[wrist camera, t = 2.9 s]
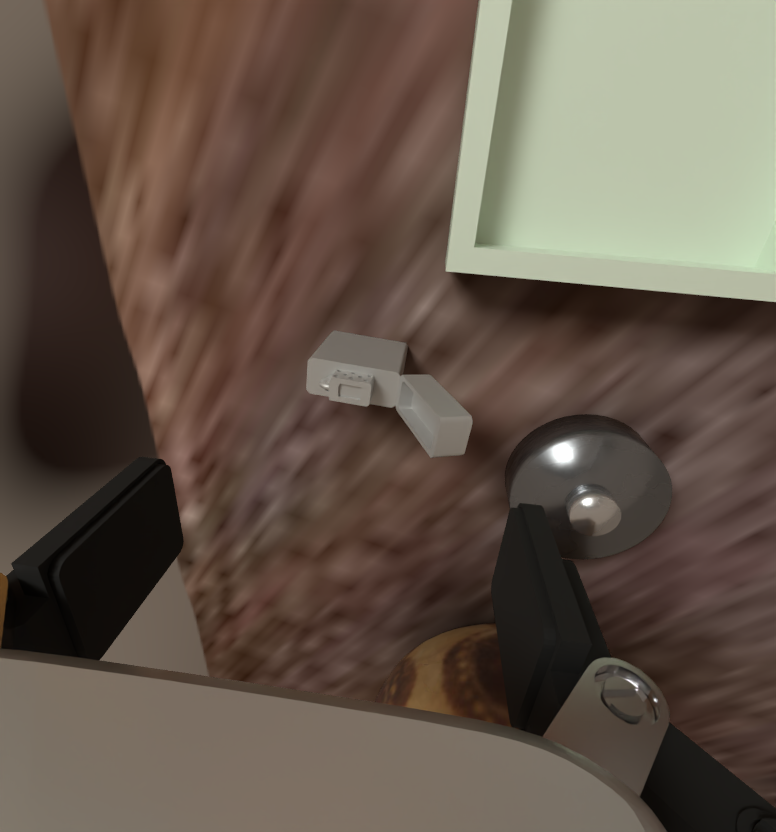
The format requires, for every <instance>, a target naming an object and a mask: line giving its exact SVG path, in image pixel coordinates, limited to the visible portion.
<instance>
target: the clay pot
mask: <svg viewBox="0 0 776 832" xmlns="http://www.w3.org/2000/svg"><path fill="white" fill-rule="evenodd" d="M375 702H377V703H383V704H389V705H396V706H402V707H408V708H414V709H420V710H426V711H431V712H437V713H443V714H448V715H454V716H460V717H465V718H471V719H477V720H481V721H486V722H490V723H495V724H499V725H503V726H508V727H512V726H511V724H510V720H509V713H508V706H507V699H506V692H505V685H504V678H503V671H502V664H501V657H500V650H499V643H498V636H497V629H496V623H489V624H480V625H473V626H467V627H462V628H457V629H454V630H450V631H447V632H444V633H441V634H439V635H437V636H435V637H433V638H431V639H429V640H427V641H425V642H423V643H422V644H420V645H419V646H417V647H416V648H414V649H413V650H412V651H410V652H409V653H408V654H407V655H406V656H405V657H404V658H403V659H402V660H401V661H400V662H399V663H398V664H397V665H396V667H395V668H394V669H393V671H392V672H391V674H390V675H389V677H388V678H387V680H386V681H385V683H384V685H383V686H382V688H381V690H380V692H379V694H378V696H377V698H376V701H375ZM516 729H518V728H516Z"/></svg>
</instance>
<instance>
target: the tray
mask: <svg viewBox="0 0 776 832" xmlns="http://www.w3.org/2000/svg"><path fill="white" fill-rule="evenodd" d="M445 264H446V271H448V272H459V273H470V274H480V275H491V276H502V277H512V278H523V279H534V280H545V281H555V282H566V283H577V284H587V285H598V286H609V287H620V288H630V289H641V290H652V291H662V292H673V293H684V294H695V295H705V296H716V297H727V298H737V299H748V300H759V301H770V302H776V0H479V2H478V10H477V18H476V26H475V34H474V41H473V49H472V57H471V65H470V73H469V81H468V89H467V96H466V104H465V112H464V120H463V128H462V136H461V143H460V151H459V159H458V167H457V175H456V183H455V191H454V198H453V206H452V214H451V222H450V230H449V238H448V246H447V253H446V261H445Z"/></svg>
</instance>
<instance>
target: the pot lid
mask: <svg viewBox="0 0 776 832" xmlns="http://www.w3.org/2000/svg"><path fill="white" fill-rule="evenodd" d="M505 487H506V492H507V497H508V501H509V506H510V509H511V508H512V507H513V508H517V507H518V505H519V503H526V504H534V505H541V506H543V508H544V511H545V514H546V517H547V519H548V522H549V525H550V528H551V531H552V533H553V536H554V539H555V542H556V545H557V547H558V550H559V553H560V556H561V557H564V558H570V559H594V558H601V557H606V556H610V555H614V554H617V553H620V552H622V551H625V550H627V549H629V548H631V547H633V546H635V545H637V544H638V543H640V542H641V541H643V540H644V539H645V538H647V537H648V536H649V535H650V534H651V533H652V532H653V531H654V530H655V529H656V528H657V527H658V526H659V525H660V523H661V522H662V521H663V519H664V517H665V516H666V514H667V512H668V509H669V506H670V503H671V498H672V485H671V479H670V476H669V474H668V471H667V469H666V468H665V466H664V464H663V463H662V462H661V461H660V460H659V458H658V457H657V456H656V455H655V454H654V452H653V451H652V450H651V449H650V447H649V446H648V445H647V444H646V443H645V441H644V440H643V439H642V438H641V437H640V435H639V434H638V433H637V432H635V431H634V430H633V429H632V428H631V427H629V426H627V425H626V424H624V423H622V422H620V421H618V420H615V419H612V418H609V417H605V416H599V415H587V414H586V415H573V416H567V417H563V418H559V419H556V420H553V421H551V422H548V423H546V424H544V425H542V426H540V427H538V428H537V429H535V430H534V431H532V432H531V433H529V434H528V435H527V436H526V437H525V438H524V439H523V440H522V441H521V442H520V443H519V444H518V445H517V446H516V448H515V449H514V451H513V452H512V454H511V456H510V458H509V460H508V463H507V466H506V471H505Z"/></svg>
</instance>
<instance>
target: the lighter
mask: <svg viewBox="0 0 776 832" xmlns="http://www.w3.org/2000/svg"><path fill="white" fill-rule="evenodd" d="M407 350H408V346H407V344H406V343H403V342H397V341H391V340H386V339H380V338H374V337H368V336H362V335H356V334H350V333H345V332H339V331H333V332H332V333H331V334H330V335H329V336H328V337H327V338H326V340H325V341H324V342H323V343H322V344H321V346H320V347H319V348H318V349H317V350H316V352H315V353H314V354H313V355H312V356H311V357H310V359H309V360H308V367H307V386H306V389H307V391H308V392H309V393H311V394H316V395H322V396H328V397H329V400H332V401H338V402H344V403H349V404H355V405H361V406H366V407H367V406H368V405H369V404H373V405H378V406H384V407H390V408H392V407H394V406H395V405H396V410H397V412H398V413H399V415H400V416H401V417H402V419H403V420H404V422H405V423H406V424H407V426H408V427H409V428H410V430H411V431H412V433H413V434H414V435H415V437H416V438H417V440H418V441H419V442H420V444H421V445H422V446H423V448H424V449H425V451H426V452H427V453H428V455H429V456H430V458H433V457H445V456H458V455H463V454H465V450H466V446H467V442H468V438H469V435H470V431H471V427H472V423H473V421H472V416H471V415H470V414H469V413H468V412H467V411H466V410H465V409H464V408H463V407H462V406H461V405H460V404H459V403H458V402H457V401H456V400H455V399H454V398H453V397H452V396H451V395H450V394H449V393H448V392H447V391H446V390H445V389H444V388H443V387H442V386H441V385H440V384H439V383H438V382H437V381H436V380H435V379H434V378H433V377H432V376H431V375H403V373H404V368H405V362H406V356H407Z"/></svg>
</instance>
